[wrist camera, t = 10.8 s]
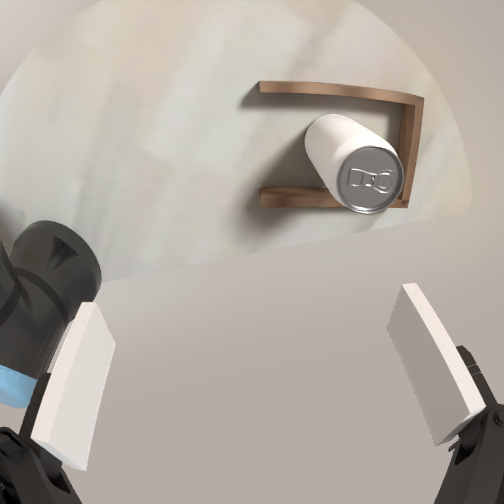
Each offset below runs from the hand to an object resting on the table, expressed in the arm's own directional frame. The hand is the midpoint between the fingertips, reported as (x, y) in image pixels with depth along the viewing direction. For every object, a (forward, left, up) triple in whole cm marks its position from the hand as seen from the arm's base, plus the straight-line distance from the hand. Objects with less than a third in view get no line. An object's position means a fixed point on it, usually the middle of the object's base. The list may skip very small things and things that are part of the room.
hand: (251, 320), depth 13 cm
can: (+9, +2, -24) cm, 26 cm away
